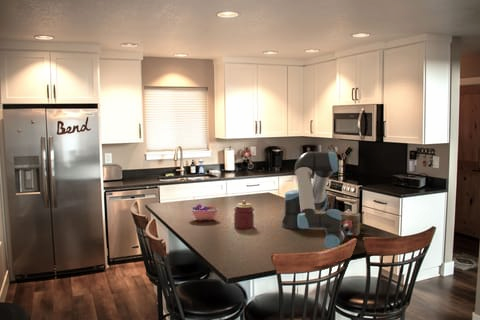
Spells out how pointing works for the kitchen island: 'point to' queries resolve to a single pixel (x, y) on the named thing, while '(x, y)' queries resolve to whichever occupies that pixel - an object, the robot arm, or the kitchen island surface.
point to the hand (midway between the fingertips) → (346, 226)
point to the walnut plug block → (356, 221)
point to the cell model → (204, 212)
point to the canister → (244, 216)
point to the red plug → (349, 222)
